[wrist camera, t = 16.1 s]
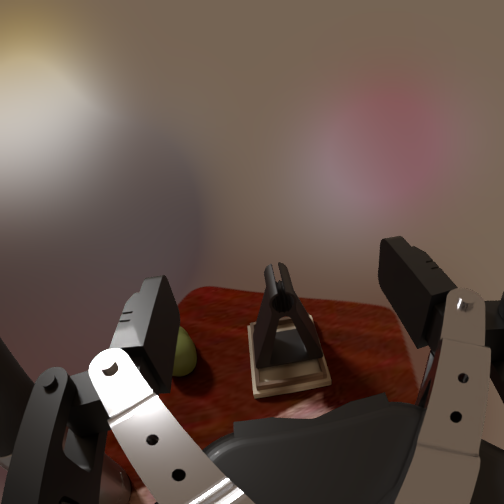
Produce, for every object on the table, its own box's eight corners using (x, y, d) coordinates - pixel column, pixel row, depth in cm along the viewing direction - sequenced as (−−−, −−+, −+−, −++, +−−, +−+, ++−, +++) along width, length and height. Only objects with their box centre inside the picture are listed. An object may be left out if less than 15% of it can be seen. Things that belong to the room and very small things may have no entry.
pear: (153, 359, 38) (153, 322, 47) (167, 387, 40) (164, 348, 49) (192, 348, 39) (185, 313, 48) (204, 377, 41) (195, 339, 50)
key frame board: (254, 398, 37) (252, 390, 36) (248, 330, 48) (246, 321, 47) (331, 384, 37) (331, 376, 36) (311, 319, 48) (310, 310, 47)
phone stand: (314, 327, 44) (311, 256, 38) (323, 357, 39) (323, 285, 33) (253, 337, 44) (238, 268, 38) (255, 369, 39) (239, 299, 33)
